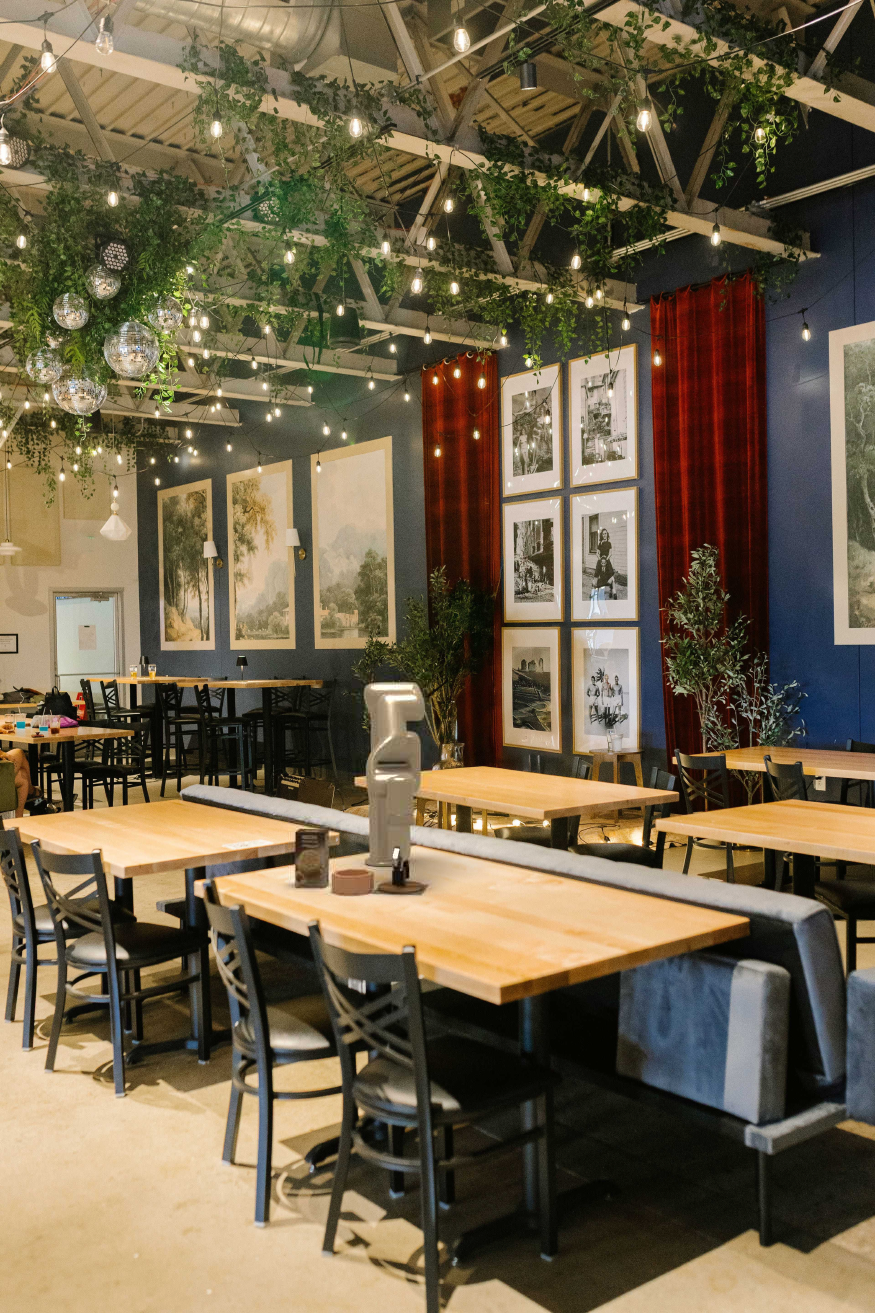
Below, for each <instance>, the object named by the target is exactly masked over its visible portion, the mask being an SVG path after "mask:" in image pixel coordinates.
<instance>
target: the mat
mask: <svg viewBox="0 0 875 1313" xmlns="http://www.w3.org/2000/svg"><path fill="white" fill-rule="evenodd" d="M422 884H423V883H422ZM423 885H424V890H423V891H420V892H417V893H410V894H389V893H383V892H380V891H378V887H377V888H376V889H375V890H373V891H372V892H371V895H385V896H386V895H389V896H390V895H391V896H392V895H393V896H395V895H396V896H422V895H423V894H424V892H425V891H426V890H427V889H428V887H429V886H430V884H425V883H424V884H423Z"/></svg>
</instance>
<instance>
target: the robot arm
mask: <svg viewBox="0 0 875 1313" xmlns="http://www.w3.org/2000/svg"><path fill="white" fill-rule="evenodd" d="M363 698H364V702H365V706H366V708H367V712H368V713H369V716H370V751H371V752H370V754H369V756H368V758H367V761H366V765H365V781H366V789H367V795H368V796H367V797H368V807H369V808H368V815H369V816H368V817H369V821H368V822H369V825H368V826H369V832H368V833H369V835H368V836H369V840H368V841H369V857H367V858H365V859H364V864H365V865H367V866H373V867H391V882H392V885H403V884H404V871H402V869H403V867H405V868H406V880H407V879H410V859H409V858H410V857H411V844H412V843H411V841H412V840H411V827H413V826H415V825H414V824H415V823H414V815H415V814H414V794H415V793H417V792H418V791H419V790H420V788H421V774H422V773H421V772H422V771H421V770H422V769H421V768H422V767H421V765H422V762H421V760H422V759H421V758H422V757H421V756H422V755H421V753H422V751H421V750H422V748H421V745H422V744H421V740H420V737H419V735H418V734H417V732H414V731H412V730H411V731H410V730H408V731H407V722H417V721H418V722H419V721H422V720H423V719H424V716H425V714H426V713H425V712H426V705H425V699H424V696H423V694H422V691H421V689H420V686H419V685H418V684H417V683H416V682H405V681H404V682H402V681H400V682H391V681H390V682H386V681H385V682H374V683H373V682H372V683H369V684H367V685H366V686H364V690H363ZM378 762H405V763H406V764H405V763H403V764H402V763H401V764H399V763H398V764H394V763H393V764H391V763H390V764H377V763H378Z"/></svg>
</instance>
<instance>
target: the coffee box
mask: <svg viewBox="0 0 875 1313" xmlns="http://www.w3.org/2000/svg"><path fill="white" fill-rule="evenodd" d="M294 836H295V837H294V847H295V848H294V850H295V851H294V854H295V855H294V856H295V858H294V862H295V863H294V879H295V880H294V887H295V888H314V889H315V888H316V889H319V888H321V889H322V888H323V889H326V887H327V886H328V885H329V884H330V880H329V879H330V866H329V865H330V841H329V840H330V829H328V828H327V829H326V828H325V829H322V828H321V829H320V828H299V829H297V830H296V831H295V833H294Z"/></svg>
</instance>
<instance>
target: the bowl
mask: <svg viewBox="0 0 875 1313" xmlns="http://www.w3.org/2000/svg"><path fill="white" fill-rule="evenodd" d="M374 873H375V872H374V871H372V870H370V869H366V868H365V869H364V868H363V869H362V868H347V869H340V870H335V871H333V872H332V873H331V891H332V892H333V894H335V895H338V896H352V897H353V896H362V895H368V894H372V893H373V889H375V888H374V886H375V885H374V883H375V882H374V880H375V879H374V878H375V874H374Z"/></svg>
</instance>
